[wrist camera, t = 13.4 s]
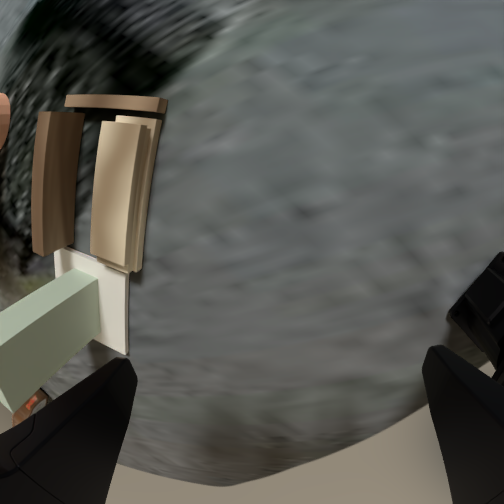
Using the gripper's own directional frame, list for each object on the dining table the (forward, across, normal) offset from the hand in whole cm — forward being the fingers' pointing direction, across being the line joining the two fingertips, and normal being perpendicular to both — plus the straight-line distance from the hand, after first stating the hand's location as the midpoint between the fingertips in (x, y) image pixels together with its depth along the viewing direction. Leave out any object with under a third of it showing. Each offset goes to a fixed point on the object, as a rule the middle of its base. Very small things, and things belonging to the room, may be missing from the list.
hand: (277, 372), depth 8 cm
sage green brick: (+14, +18, +6) cm, 24 cm away
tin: (+16, +42, +29) cm, 53 cm away
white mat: (+14, +18, +6) cm, 24 cm away
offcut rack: (+15, +13, -4) cm, 21 cm away
